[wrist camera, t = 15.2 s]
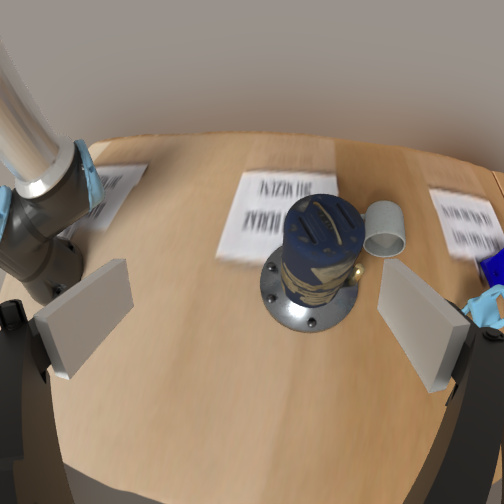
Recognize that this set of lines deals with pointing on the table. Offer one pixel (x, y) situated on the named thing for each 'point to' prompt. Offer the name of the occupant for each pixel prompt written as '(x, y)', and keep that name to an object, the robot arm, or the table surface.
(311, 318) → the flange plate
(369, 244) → the ceramic mug
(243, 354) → the table surface
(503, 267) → the mounting bracket
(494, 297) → the light blue stand
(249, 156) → the table surface
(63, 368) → the robot arm
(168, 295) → the table surface
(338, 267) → the canister
